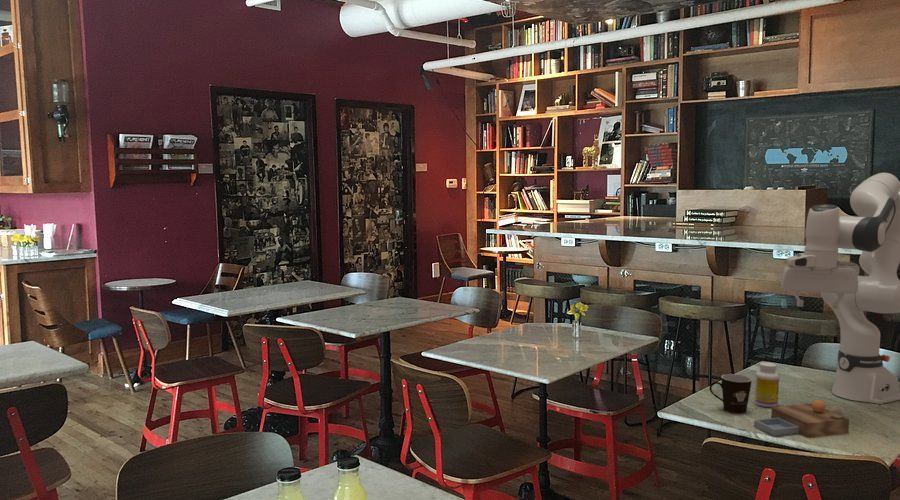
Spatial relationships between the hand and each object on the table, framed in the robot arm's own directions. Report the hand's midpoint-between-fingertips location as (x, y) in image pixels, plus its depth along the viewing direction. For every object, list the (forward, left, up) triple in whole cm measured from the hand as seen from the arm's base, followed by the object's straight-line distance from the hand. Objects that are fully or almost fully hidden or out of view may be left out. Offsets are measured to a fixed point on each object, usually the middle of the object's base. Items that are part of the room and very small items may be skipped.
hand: (817, 307), depth 214 cm
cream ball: (+4, +14, -27) cm, 30 cm away
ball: (+5, +8, -27) cm, 28 cm away
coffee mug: (+20, -11, -33) cm, 40 cm away
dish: (+19, +8, -33) cm, 39 cm away
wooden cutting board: (+8, +8, -33) cm, 35 cm away
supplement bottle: (+6, -12, -33) cm, 35 cm away
